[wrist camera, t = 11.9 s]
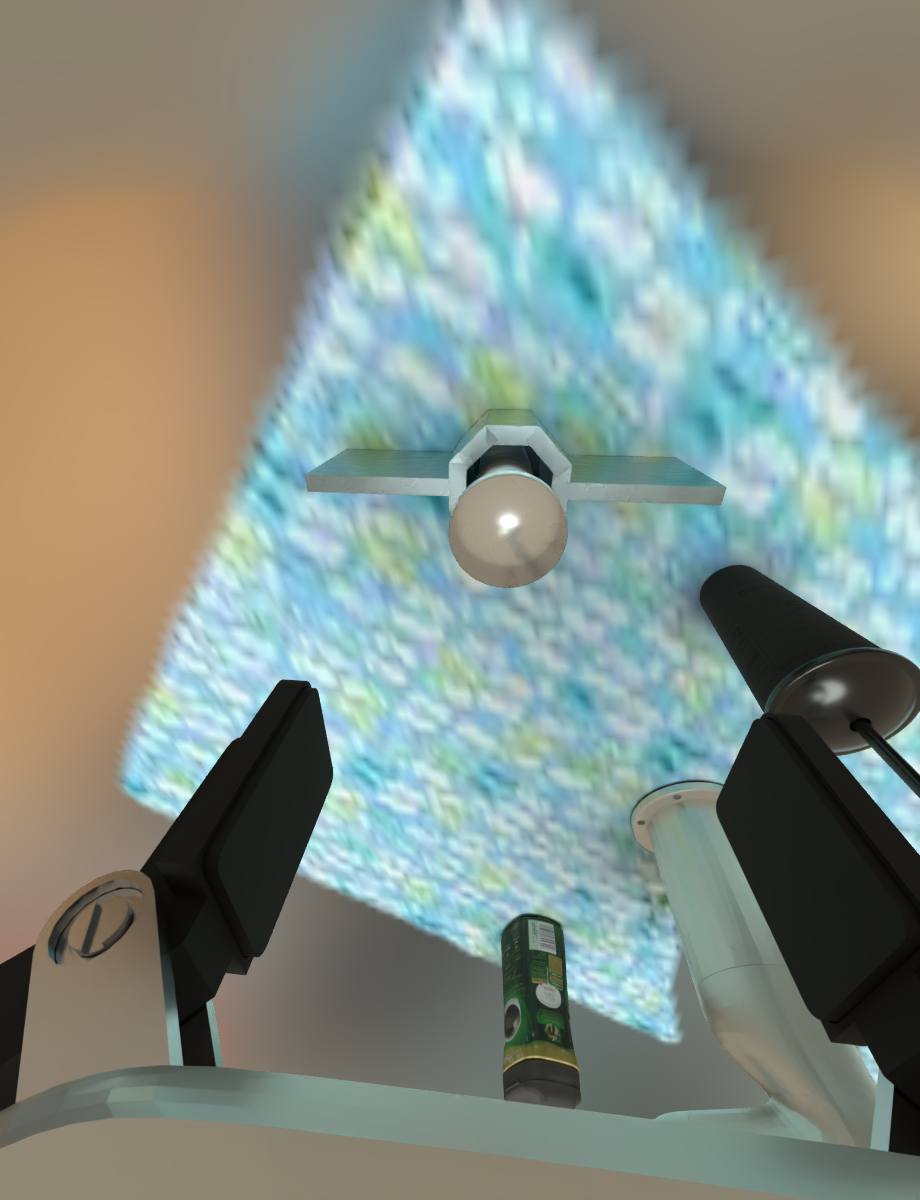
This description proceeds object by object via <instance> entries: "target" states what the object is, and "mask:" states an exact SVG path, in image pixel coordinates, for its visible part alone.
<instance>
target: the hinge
mask: <svg viewBox="0 0 920 1200" xmlns="http://www.w3.org/2000/svg"><path fill="white" fill-rule="evenodd" d="M492 445H525V446H531V448H532V449H533V450H534V451H535V452H536V453H537V455H538V456H539V457H540V458H541V459H540V470H539V476H537V478H539V479H541V480H542V481H543V482H545V483H546V484H547V485H548V486H549V487H550V488H551V489H552V490H553V491H554V493H555V494H556V495H557V497H558V499H559V501H560V503H561V505H562V508H563V510H564V513H565V515H566V509H567V501H568V500H584V501H615V502H646V503H676V504H707V505H721V503H722V500H723V497H724V493H725V490H726V487H725V486H723V485H722V484H720V483H718V482H717V481H715V480H713V479H711V478H710V477H708V476H706V475H705V474H703V473H701V472H700V471H698V470H696V469H694V468H693V467H691V466H689V465H688V464H686V463H684V462H683V461H681V460H679V459H678V458H671V457H632V456H593V455H565V454H564V452H563V451H562V449H561V448H560V446H559V444H558V443H557V441H556V440H555V439H554V438H553V436H552V435H551V434H550V433H549V432H548V430H547V429H546V428H545V427H544V426H543V424H542V423H541V422H540V421H539V420H538V418H537V417H536V416H535V415H534V414H533V412H532V411H531V410H509V409H490V410H488V411H487V412H486V413H485V414H484V415H483V416H482V417H481V418H480V419H479V420H478V421H477V422H476V423H475V424H474V425H473V426H472V427H471V428H470V429H469V430H468V432H467V433H466V434H465V435H464V436H463V437H462V438H461V439H460V441H459V443H458V445H457V447H456V449H455V451H454V452H439V451H400V450H361V449H346V450H344V451H343V452H341V453H340V454H338V455H336V456H335V457H333V458H331V459H330V460H328V461H326V462H325V463H323V464H322V465H320V466H318V467H317V468H315V469H313V470H312V471H310V472H309V473H307V474H305V478H306V484H307V490H308V491H309V492H339V493H370V494H401V495H431V496H449V512H450V513H451V514H452V513H453V510H454V507H455V504H456V502H457V500H458V499H459V497H460V496H461V494H462V493H463V492H464V490H465V489H466V488H467V487H468V486H469V485H471V484H472V483H473V482H474V481H476V480H477V477H476V476H475V475H474V474H473V465H474V463H475V462H476V461H477V460H478V459H479V458H480V457H481V456H482V455H483V454H484V453H485V452H486V451H487V450H488V449H489V448H490V447H491V446H492Z"/></svg>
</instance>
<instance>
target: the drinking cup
mask: <svg viewBox="0 0 920 1200" xmlns="http://www.w3.org/2000/svg"><path fill="white" fill-rule="evenodd" d="M700 602H701V605H702V607H703V609H704V610H705V612H706V614H707V615H708V617H709V619H710V621H711V622H712V624H713V626H714V628H715V629H716V631H717V633H718V635H719V636H720V638H721V640H722V641H723V643H724V645H725V647H726V648H727V650H728V652H729V654H730V655H731V657H732V659H733V660H734V662H735V664H736V666H737V667H738V669H739V671H740V673H741V674H742V676H743V678H744V679H745V681H746V683H747V685H748V686H749V688H750V690H751V692H752V693H753V695H754V697H755V699H756V700H757V702H758V704H759V705H760V707H761V709H762V711H763V712H764V714H765V713H766V712H774V713H789V714H798V715H801V716H802V717H804V718H805V719H806V720H807V721H808V723H809V724H810V725H811V726H812V727H813V729H814V730H815V731H816V732H817V733H818V735H819V736H820V737H821V738H822V739H823V741H824V742H825V743H826V744H827V745H828V747H829V748H830V749H831V750H832V751H833V752H834V754H835V755H836V756H841V755H847V754H852V753H856V752H859V751H863V750H866V749H869V748H871V747H872V748H873V749H874V750H875V751H876V752H877V753H878V755H879V756H880V757H881V758H882V759H883V760H884V761H885V762H886V763H887V764H888V765H889V766H890V767H891V768H892V769H893V770H894V772H895V773H896V774H897V775H898V776H899V777H900V778H901V779H902V780H903V781H904V782H905V783H906V784H907V785H908V786H909V787H910V789H911V790H912V791H913V792H914V793H915V794H916V795H917V796H918V797H919V798H920V774H919V773H918V772H917V771H916V770H915V769H914V768H913V767H912V766H911V765H910V764H909V763H908V762H907V761H906V760H905V759H904V758H903V757H902V756H901V755H900V754H899V753H898V752H897V751H896V750H895V749H894V748H893V747H892V746H891V745H890V744H889V743H888V742H887V741H886V740H888V739H890V738H891V737H893V736H894V735H896V734H897V733H899V732H900V731H901V730H903V729H904V728H905V727H906V726H907V725H908V724H909V723H911V722H912V720H913V719H914V718H915V717H916V716H917V714H918V713H919V712H920V669H919V668H918V667H917V666H916V665H915V664H914V663H913V662H912V661H910V660H909V659H907V658H906V657H904V656H902V655H900V654H898V653H895V652H892V651H889V650H885V649H881V648H880V647H878V646H877V645H875V644H873V643H872V642H870V641H869V640H867V639H865V638H864V637H862V636H861V635H859V634H857V633H856V632H854V631H853V630H851V629H849V628H848V627H846V626H845V625H843V624H841V623H840V622H838V621H837V620H835V619H833V618H832V617H830V616H829V615H827V614H825V613H824V612H822V611H821V610H819V609H817V608H816V607H814V606H813V605H811V604H809V603H808V602H806V601H805V600H803V599H801V598H800V597H798V596H797V595H795V594H793V593H792V592H790V591H789V590H787V589H785V588H784V587H782V586H781V585H779V584H777V583H776V582H774V581H773V580H771V579H769V578H768V577H766V576H765V575H763V574H761V573H760V572H758V571H757V570H755V569H753V568H751V567H748V566H742V565H737V566H730V567H726V568H724V569H721V570H719V571H717V572H716V573H714V574H713V575H712V576H711V577H710V578H709V579H708V580H707V581H706V582H705V583H704V585H703V587H702V589H701V593H700Z"/></svg>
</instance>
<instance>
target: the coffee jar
mask: <svg viewBox="0 0 920 1200" xmlns="http://www.w3.org/2000/svg"><path fill="white" fill-rule="evenodd" d="M501 949H502V971H503V994H504V1024H505V1025H504V1030H505V1036H504V1037H505V1040H504V1041H505V1042H504V1043H505V1044H504V1060H503V1086H504V1100H505V1101H513V1102H521V1103H528V1104H536V1105H544V1106H552V1107H559V1108H567V1109H575V1107H576V1106H577V1105H579V1104H580V1102H581V1093H580V1082H579V1068H578V1063H577V1060H576V1056H575V1053H574V1048H573V1042H572V1036H571V1028H570V1016H569V1003H568V992H567V977H566V959H565V946H564V935H563V931H562V929H561V928H560V927H559V926H558V925H556V924H555V923H554V922H552V921H550V920H548V919H545V918H542V917H522V918H519V919H518V920H517V921H515V922H514V923H513V924H512V925H510V927H509V928H508V929H507V930H506V931H505V933H504V934H503V936H502V939H501Z"/></svg>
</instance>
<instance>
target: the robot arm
mask: <svg viewBox="0 0 920 1200" xmlns="http://www.w3.org/2000/svg"><path fill="white" fill-rule="evenodd" d="M332 779H333V767H332V762H331V756H330V751H329V746H328V741H327V735H326V730H325V725H324V719H323V714H322V709H321V704H320V698H319V693H318V690H317V689H316V688H311V685H310V683H309V682H308V681H298V680H281V681H279V683H278V684H277V685H276V686H275V688H274V689H273V691H272V692H271V694H270V695H269V697H268V698H267V700H266V701H265V702H264V704H263V705H262V707H261V708H260V710H259V711H258V713H257V714H256V715H255V717H254V718H253V720H252V721H251V723H250V724H249V726H248V727H247V729H246V730H245V731H244V733H243V734H242V736H241V737H240V738H237V739H235V740H233V741H232V742H231V743H230V745H229V746H228V747H227V748H226V749H225V751H224V752H223V754H222V755H221V757H220V758H219V759H218V761H217V762H216V764H215V765H214V767H213V768H212V769H211V771H210V772H209V774H208V775H207V776H206V778H205V779H204V781H203V782H202V784H201V785H200V786H199V788H198V789H197V791H196V792H195V793H194V795H193V796H192V798H191V799H190V801H189V802H188V803H187V805H186V806H185V808H184V809H183V810H182V812H181V813H180V815H179V816H178V818H177V819H176V820H175V822H174V823H173V825H172V826H171V828H170V829H169V830H168V832H167V833H166V835H165V836H164V837H163V839H162V840H161V842H160V843H159V845H158V846H157V847H156V849H155V850H154V852H153V853H152V855H151V856H150V858H149V859H148V860H147V862H146V863H145V865H144V866H143V867H142V869H141V870H140V871H134V870H122V871H115V872H112V873H109V874H106V875H104V876H102V877H98V878H97V879H95V880H93V881H91V882H90V883H88V884H86V885H85V886H83V887H81V888H80V889H79V890H77V891H76V892H75V893H74V894H72V895H71V896H70V897H69V898H68V899H66V900H65V901H64V902H63V903H62V904H61V905H60V906H59V907H58V909H57V910H56V911H55V912H54V913H53V914H52V915H51V916H50V918H49V919H48V921H47V922H46V924H45V926H44V927H43V929H42V931H41V932H40V934H39V936H38V939H37V942H36V944H35V945H33V946H32V947H30V948H28V949H26V950H25V951H23V952H21V953H19V954H18V955H16V956H14V957H13V958H11V959H9V960H7V961H5V962H4V963H2V964H0V1200H920V855H919V854H918V853H917V852H916V850H915V849H914V848H913V847H912V846H911V844H910V843H909V842H908V841H907V840H906V838H905V837H904V836H903V835H902V834H901V832H900V831H899V830H898V829H897V828H896V827H895V825H894V824H893V823H892V822H891V821H890V819H889V818H888V817H887V816H886V815H885V813H884V812H883V811H882V810H881V809H880V807H879V806H878V805H877V804H876V803H875V801H874V800H873V799H872V798H871V797H870V795H869V794H868V793H867V792H866V791H865V790H864V788H863V787H862V786H861V785H860V784H859V782H858V781H857V780H856V779H855V778H854V776H853V775H852V774H851V773H850V772H849V770H848V769H847V768H846V767H845V766H844V764H843V763H842V762H841V761H840V760H839V758H838V757H837V756H836V755H835V754H834V752H833V751H832V750H831V749H830V748H829V747H828V745H827V744H826V743H825V742H824V741H823V739H822V738H821V737H820V736H819V735H818V733H817V732H816V731H815V730H814V729H813V727H812V726H811V725H810V724H809V723H808V721H807V720H806V719H805V718H804V717H802V716H801V715H798V714H789V713H774V712H766V713H765V714H763V715H762V717H761V718H760V719H756V720H754V722H753V723H752V725H751V728H750V730H749V732H748V734H747V736H746V738H745V740H744V743H743V745H742V747H741V749H740V751H739V753H738V756H737V758H736V760H735V762H734V764H733V766H732V768H731V771H730V773H729V775H728V777H727V779H726V781H725V784H724V786H722V785H717V784H713V783H705V782H687V783H681V784H675V785H671V786H668V787H664V788H662V789H660V790H657V791H655V792H653V793H652V794H650V795H648V796H647V797H645V798H644V799H643V800H642V801H641V802H640V803H639V804H638V805H637V807H636V808H635V809H634V811H633V814H632V816H631V825H632V830H633V833H634V836H635V838H636V840H637V841H638V842H639V844H640V845H642V846H643V847H644V848H645V849H647V850H649V851H651V852H653V853H654V855H655V858H656V861H657V865H658V868H659V871H660V874H661V878H662V881H663V884H664V887H665V891H666V894H667V897H668V900H669V904H670V907H671V910H672V913H673V917H674V920H675V923H676V926H677V930H678V933H679V936H680V940H681V943H682V946H683V949H684V953H685V956H686V959H687V962H688V965H689V969H690V972H691V975H692V978H693V981H694V985H695V988H696V992H697V995H698V998H699V1001H700V1005H701V1008H702V1011H703V1014H704V1016H705V1019H706V1021H707V1023H708V1026H709V1028H710V1030H711V1031H712V1033H713V1034H714V1036H715V1038H716V1039H717V1041H718V1042H719V1044H720V1045H721V1046H722V1048H723V1049H724V1050H725V1051H726V1053H727V1054H728V1055H729V1056H730V1057H731V1058H732V1059H733V1060H734V1061H735V1062H736V1063H737V1064H738V1065H739V1066H740V1067H741V1068H742V1069H743V1070H744V1071H745V1072H746V1073H747V1074H748V1075H749V1076H750V1077H751V1078H752V1079H753V1080H754V1081H755V1082H756V1083H757V1084H758V1085H759V1086H761V1088H762V1089H763V1090H764V1091H765V1092H766V1093H767V1094H768V1096H769V1097H770V1101H769V1102H768V1103H767V1104H765V1105H762V1106H753V1107H750V1108H745V1109H744V1108H743V1109H719V1110H697V1111H696V1110H695V1111H680V1112H672V1113H667V1114H663V1115H661V1116H658V1117H657V1118H656V1119H654V1120H652V1119H644V1118H636V1117H629V1116H621V1115H613V1114H605V1113H598V1112H590V1111H583V1110H575V1109H567V1108H559V1107H552V1106H544V1105H536V1104H528V1103H521V1102H513V1101H505V1100H497V1099H489V1098H481V1097H474V1096H465V1095H458V1094H450V1093H442V1092H433V1091H426V1090H418V1089H410V1088H401V1087H393V1086H385V1085H377V1084H368V1083H361V1082H353V1081H345V1080H337V1079H329V1078H321V1077H311V1076H302V1075H292V1074H282V1073H272V1072H263V1071H252V1070H243V1069H232V1068H224V1067H223V1061H222V1055H221V1049H220V1043H219V1037H218V1031H217V1025H216V1019H215V1013H214V1007H213V1001H212V998H214V997H215V995H216V993H217V990H218V988H219V986H220V984H221V982H222V979H223V977H224V975H225V973H231V974H239V975H246V974H247V972H248V969H249V967H250V964H251V962H252V960H253V957H259V956H261V954H262V953H263V952H264V950H265V949H266V946H267V944H268V942H269V939H270V937H271V934H272V932H273V929H274V927H275V924H276V922H277V919H278V917H279V914H280V912H281V909H282V907H283V904H284V902H285V899H286V897H287V894H288V892H289V889H290V887H291V884H292V882H293V879H294V877H295V874H296V872H297V869H298V867H299V864H300V862H301V859H302V857H303V854H304V852H305V849H306V847H307V844H308V842H309V839H310V837H311V834H312V832H313V829H314V827H315V824H316V822H317V819H318V817H319V814H320V812H321V809H322V807H323V804H324V802H325V799H326V797H327V794H328V792H329V789H330V786H331V783H332ZM854 1045H857V1046H868V1048H869V1050H870V1051H871V1053H872V1055H873V1057H874V1059H875V1061H876V1063H877V1065H878V1067H879V1072H878V1082H877V1085H876V1083H875V1082H874V1080H873V1078H872V1077H871V1075H870V1073H869V1071H868V1069H867V1068H866V1066H865V1064H864V1062H863V1060H862V1058H861V1057H860V1055H859V1053H858V1051H857V1049H856V1047H855V1046H854Z"/></svg>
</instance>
